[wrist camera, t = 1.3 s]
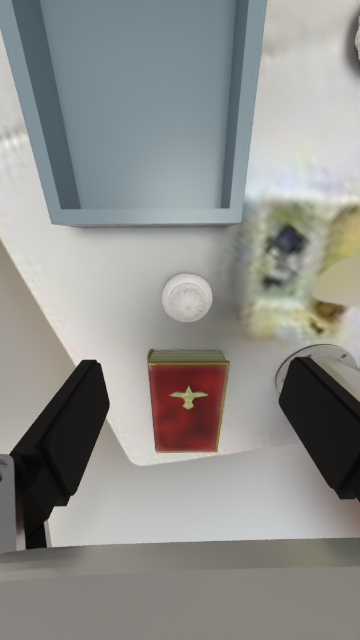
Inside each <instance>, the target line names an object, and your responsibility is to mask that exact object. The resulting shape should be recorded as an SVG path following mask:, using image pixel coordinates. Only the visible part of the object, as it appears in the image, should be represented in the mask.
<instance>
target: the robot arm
mask: <svg viewBox="0 0 360 640" xmlns="http://www.w3.org/2000/svg"><path fill="white" fill-rule="evenodd" d="M276 386H277V389H278V392H279V393H280V397H279V405H280V407H281V409H282V410H283V412H284V414H285V415H286V417H287V419H288V420H289V422H290V424H291V425H292V427H293V428H294V430H295V432H296V433H297V435H298V437H299V438H300V440H301V442H302V443H303V445H304V446H305V448H306V449H307V451H308V453H309V455H310V456H311V458H312V459H313V461H314V463H315V464H316V466H317V468H318V469H319V471H320V473H321V474H322V476H323V477H324V479H325V481H326V482H327V484H328V485H329V486H330V487H331V488H332V489H334V490H335V492H336V493H337V495H338V497H339V498H340V499H355V498H357V499H358V500H359V502H360V371H358V370H357V366H356V361H355V360H354V358H353V356H352V355H350V354H349V353H348V352H347V351H345V350H344V349H342V348H340V347H337V346H333V345H318V346H313V347H309V348H306V349H304V350H302V351H300V352H298V353H296V354H295V355H293V356H292V357H290V358H289V359H288V360H287V361H286V362H285V363H284V364H283V365H282V367H281V368H280V370H279V372H278V375H277V378H276ZM109 406H110V402H109V398H108V393H107V389H106V385H105V380H104V376H103V372H102V367H101V364H100V363H97V361H96V360H82V361H81V362H80V364H79V365H78V366H77V367H76V369H75V370H74V371H73V373H72V374H71V375H70V377H69V378H68V379H67V380H66V382H65V383H64V385H63V386H62V387H61V388H60V389H59V391H58V392H57V393H56V394H55V396H54V397H53V398H52V400H51V401H50V402H49V403H48V405H47V406H46V407H45V409H44V410H43V411H42V413H41V414H40V415H39V417H38V418H37V419H36V420H35V422H34V423H33V424H32V425H31V427H30V428H29V429H28V431H27V432H26V433H25V435H24V436H23V437H22V438H21V440H20V441H19V442H18V444H17V445H16V446H15V447H14V449H13V450H12V451H11V453H10V454H9V455H8V454H0V640H360V538H321V539H276V540H240V541H203V542H170V543H142V544H141V543H140V544H111V545H87V546H69V547H52V545H51V539H50V531H49V525H48V518H49V516H50V514H51V512H52V510H53V508H54V506H67V504H68V501H69V499H70V496H73V495H74V494H75V493H76V491H77V489H78V486H79V484H80V481H81V479H82V476H83V474H84V471H85V469H86V466H87V463H88V461H89V458H90V456H91V453H92V451H93V448H94V446H95V443H96V441H97V438H98V436H99V433H100V430H101V428H102V426H103V423H104V420H105V418H106V415H107V413H108V410H109Z"/></svg>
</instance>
